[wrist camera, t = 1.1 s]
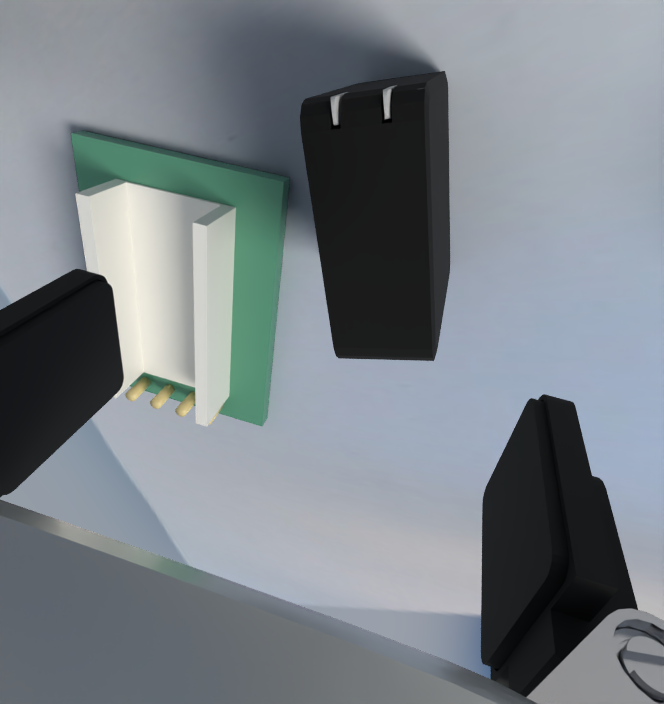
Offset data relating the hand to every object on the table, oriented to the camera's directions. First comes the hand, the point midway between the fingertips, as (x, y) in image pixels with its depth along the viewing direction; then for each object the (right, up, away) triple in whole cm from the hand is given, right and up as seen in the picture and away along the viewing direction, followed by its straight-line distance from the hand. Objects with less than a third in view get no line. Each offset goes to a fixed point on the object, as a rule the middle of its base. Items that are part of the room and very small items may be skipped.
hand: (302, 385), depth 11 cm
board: (-9, +5, +22) cm, 24 cm away
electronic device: (+5, +10, +15) cm, 18 cm away
